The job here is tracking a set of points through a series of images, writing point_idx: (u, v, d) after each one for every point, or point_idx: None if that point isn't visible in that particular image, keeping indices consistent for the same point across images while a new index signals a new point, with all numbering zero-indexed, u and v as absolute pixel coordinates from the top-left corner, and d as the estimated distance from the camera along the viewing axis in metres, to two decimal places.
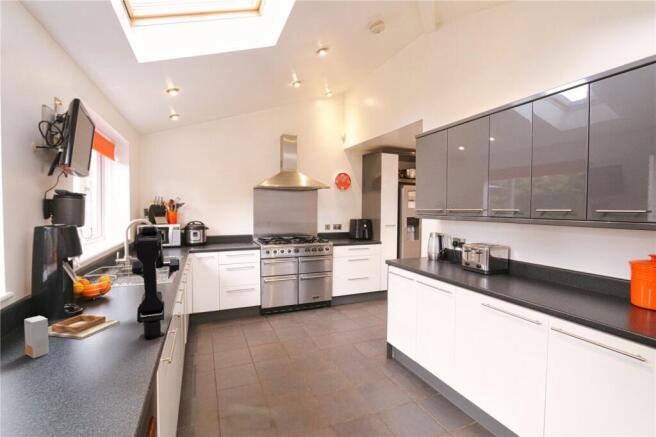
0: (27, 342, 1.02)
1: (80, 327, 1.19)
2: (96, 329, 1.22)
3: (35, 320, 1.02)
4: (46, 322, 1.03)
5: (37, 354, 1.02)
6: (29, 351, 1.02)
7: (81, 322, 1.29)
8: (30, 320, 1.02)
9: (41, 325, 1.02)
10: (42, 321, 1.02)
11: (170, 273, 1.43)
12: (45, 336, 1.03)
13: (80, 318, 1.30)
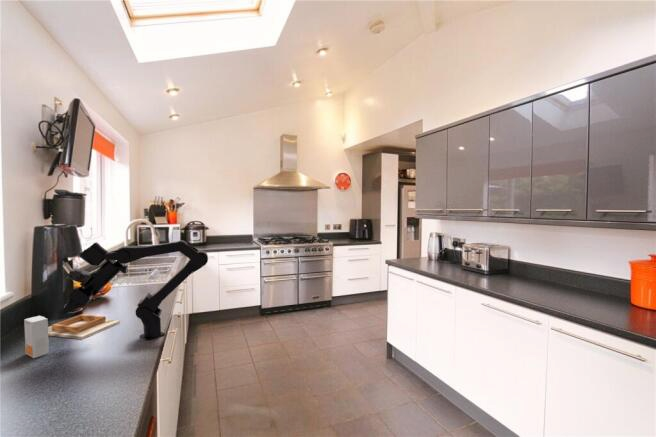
0: (27, 342, 1.02)
1: (80, 327, 1.19)
2: (96, 329, 1.22)
3: (35, 320, 1.02)
4: (46, 322, 1.03)
5: (37, 354, 1.02)
6: (29, 351, 1.02)
7: (81, 322, 1.29)
8: (30, 320, 1.02)
9: (41, 325, 1.02)
10: (42, 321, 1.02)
11: None
12: (45, 336, 1.03)
13: (80, 318, 1.30)
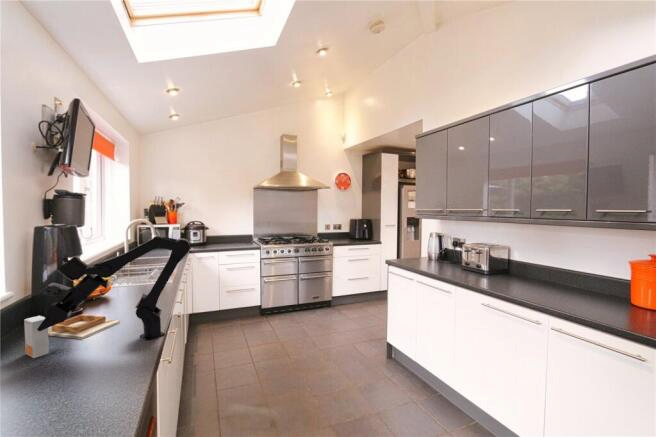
0: (27, 342, 1.02)
1: (80, 327, 1.19)
2: (96, 329, 1.22)
3: (35, 320, 1.02)
4: None
5: (37, 354, 1.02)
6: (29, 351, 1.02)
7: (81, 322, 1.29)
8: (30, 320, 1.02)
9: None
10: (42, 321, 1.02)
11: None
12: (45, 336, 1.03)
13: (80, 318, 1.30)
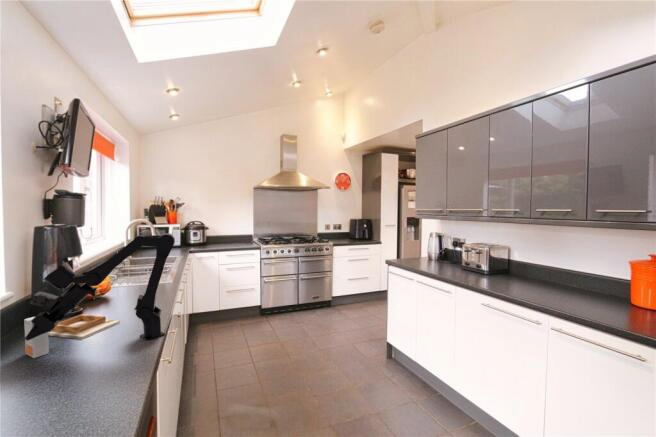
0: (27, 342, 1.02)
1: (80, 327, 1.19)
2: (96, 329, 1.22)
3: None
4: None
5: (37, 354, 1.02)
6: (29, 351, 1.02)
7: (81, 322, 1.29)
8: (30, 320, 1.02)
9: None
10: None
11: None
12: (45, 336, 1.03)
13: (80, 318, 1.30)
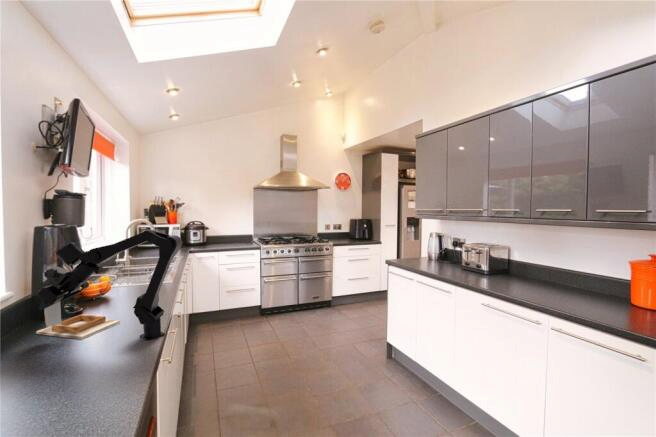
0: None
1: (80, 327, 1.19)
2: (96, 329, 1.22)
3: None
4: None
5: (50, 323, 1.10)
6: (45, 320, 1.11)
7: (81, 322, 1.29)
8: None
9: None
10: None
11: (73, 295, 1.18)
12: (57, 308, 1.11)
13: (80, 318, 1.30)
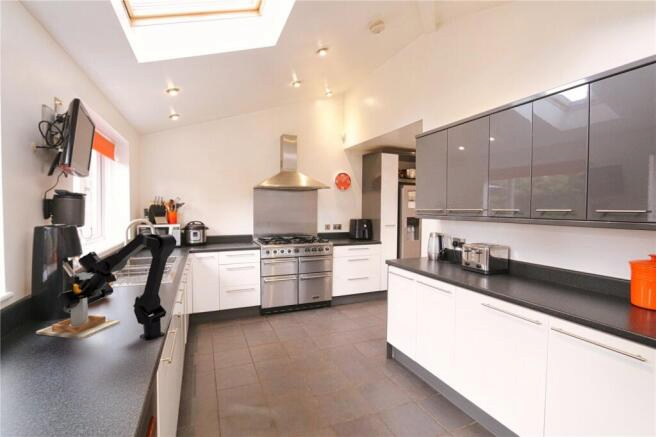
0: None
1: (80, 327, 1.19)
2: (96, 329, 1.22)
3: None
4: (81, 301, 1.22)
5: None
6: None
7: None
8: None
9: None
10: None
11: None
12: (80, 313, 1.23)
13: None
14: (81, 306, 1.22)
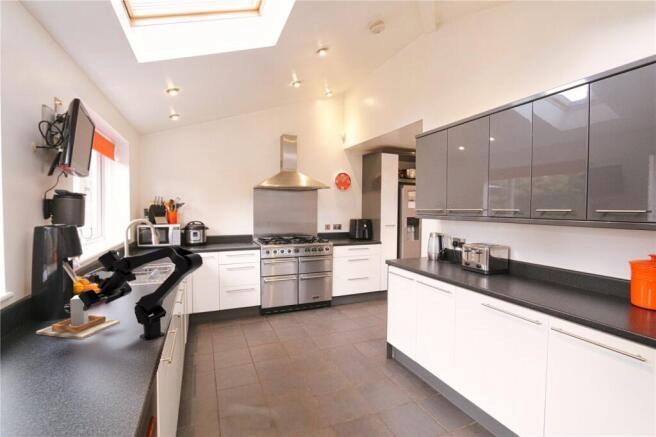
0: None
1: (80, 327, 1.19)
2: (96, 329, 1.22)
3: (75, 298, 1.23)
4: (81, 301, 1.22)
5: None
6: None
7: None
8: (73, 297, 1.24)
9: (77, 303, 1.22)
10: (78, 300, 1.22)
11: None
12: (80, 313, 1.23)
13: None
14: (81, 306, 1.23)
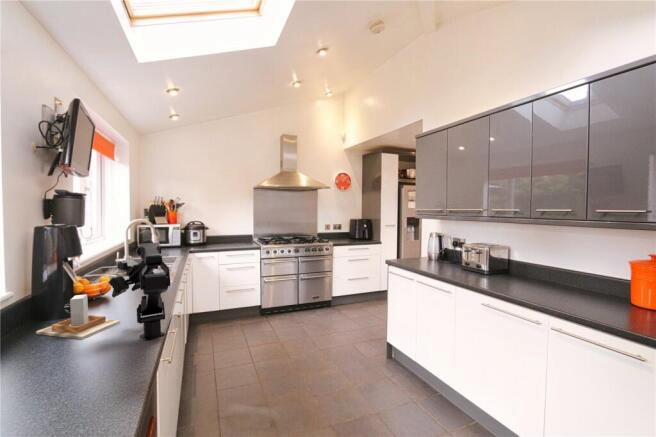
0: None
1: (80, 327, 1.19)
2: (96, 329, 1.22)
3: (75, 298, 1.23)
4: (81, 301, 1.22)
5: None
6: None
7: None
8: (73, 297, 1.24)
9: (77, 303, 1.22)
10: (78, 300, 1.22)
11: None
12: (80, 313, 1.23)
13: None
14: (81, 306, 1.23)
